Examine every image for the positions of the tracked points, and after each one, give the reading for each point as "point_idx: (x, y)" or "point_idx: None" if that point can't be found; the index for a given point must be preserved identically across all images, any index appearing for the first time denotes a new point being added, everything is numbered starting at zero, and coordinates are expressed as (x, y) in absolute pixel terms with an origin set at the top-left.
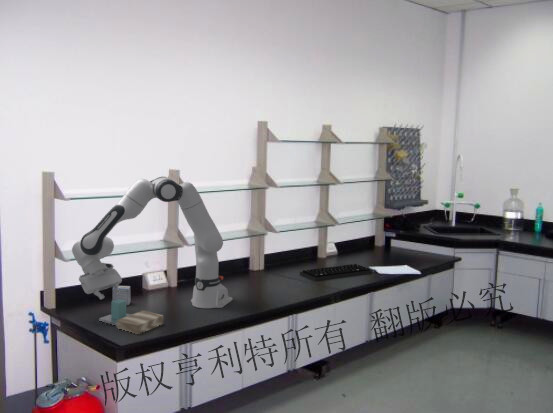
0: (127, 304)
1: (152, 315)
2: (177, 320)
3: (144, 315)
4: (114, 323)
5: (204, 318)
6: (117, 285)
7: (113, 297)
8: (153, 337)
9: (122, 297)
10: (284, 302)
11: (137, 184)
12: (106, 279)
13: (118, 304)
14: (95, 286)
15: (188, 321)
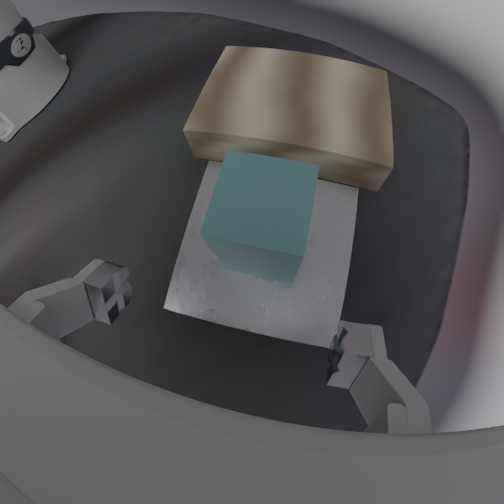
0: None
1: (244, 67)
2: (178, 62)
3: (260, 89)
4: (354, 221)
5: (146, 34)
6: (34, 296)
7: None
8: (363, 59)
9: None
10: (49, 28)
11: None
12: (45, 461)
13: (317, 174)
14: (447, 467)
15: (180, 42)
